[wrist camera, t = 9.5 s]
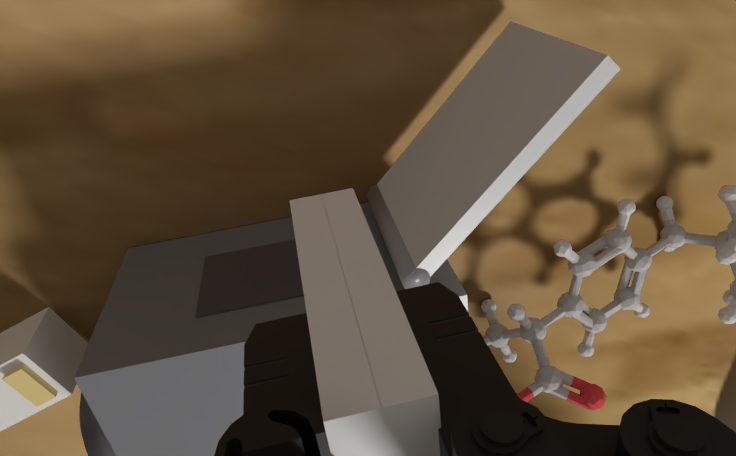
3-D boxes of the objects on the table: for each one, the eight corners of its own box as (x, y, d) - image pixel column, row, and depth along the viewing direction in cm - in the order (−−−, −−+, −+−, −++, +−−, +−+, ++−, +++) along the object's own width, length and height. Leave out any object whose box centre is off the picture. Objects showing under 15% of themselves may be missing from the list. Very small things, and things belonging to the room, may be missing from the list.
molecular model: (716, 132, 33) (881, 209, 25) (701, 257, 39) (831, 354, 31) (424, 238, 32) (496, 356, 24) (453, 351, 38) (518, 477, 30)
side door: (507, 18, 26) (604, 51, 19) (533, 44, 27) (635, 85, 20) (362, 196, 29) (396, 284, 22) (389, 214, 30) (431, 304, 23)
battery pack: (8, 388, 33) (-24, 448, 29) (-38, 352, 31) (-79, 410, 27) (92, 344, 32) (69, 399, 28) (49, 305, 31) (19, 358, 27)
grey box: (135, 388, 34) (88, 562, 25) (73, 256, 29) (-17, 412, 20) (421, 326, 36) (479, 467, 27) (409, 192, 31) (475, 307, 22)
